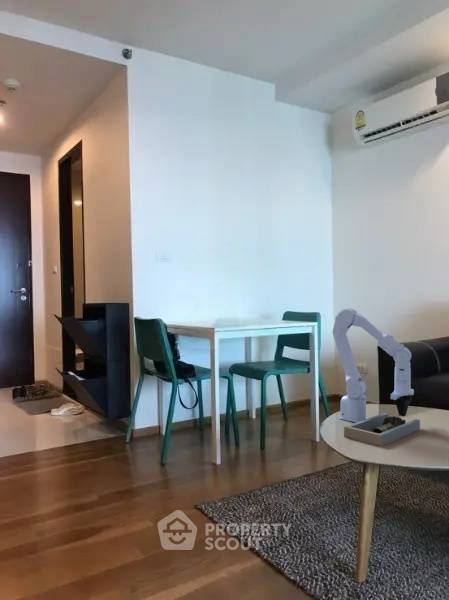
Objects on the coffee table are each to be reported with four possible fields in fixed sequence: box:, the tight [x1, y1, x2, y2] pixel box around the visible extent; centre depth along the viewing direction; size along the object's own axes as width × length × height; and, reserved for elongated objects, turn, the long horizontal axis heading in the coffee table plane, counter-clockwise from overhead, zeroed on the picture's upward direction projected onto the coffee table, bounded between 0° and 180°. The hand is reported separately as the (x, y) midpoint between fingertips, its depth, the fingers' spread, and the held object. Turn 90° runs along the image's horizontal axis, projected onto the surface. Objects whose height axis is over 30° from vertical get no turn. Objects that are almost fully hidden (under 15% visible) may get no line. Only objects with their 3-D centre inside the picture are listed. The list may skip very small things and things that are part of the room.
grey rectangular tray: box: [343, 412, 421, 447], centre depth 169 cm, size 14×28×4 cm, turn 133°
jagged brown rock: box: [371, 415, 407, 434], centre depth 167 cm, size 18×7×6 cm, turn 133°
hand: (402, 415), depth 178 cm, fingers closed
